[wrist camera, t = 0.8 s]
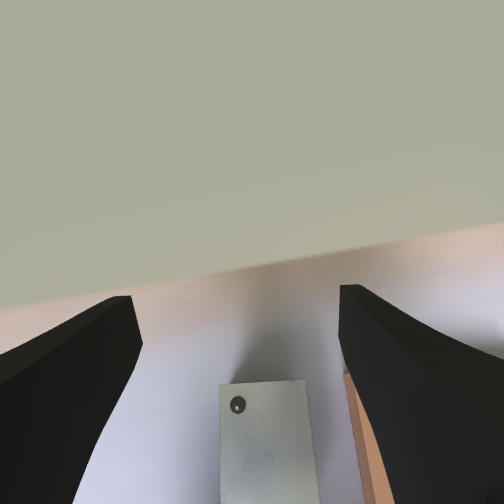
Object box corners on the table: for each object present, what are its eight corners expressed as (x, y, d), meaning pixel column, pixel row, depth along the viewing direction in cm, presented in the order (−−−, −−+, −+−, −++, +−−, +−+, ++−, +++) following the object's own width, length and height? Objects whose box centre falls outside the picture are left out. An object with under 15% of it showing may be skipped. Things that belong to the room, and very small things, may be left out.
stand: (590, 569, 17) (628, 588, 16) (380, 587, 17) (395, 608, 15) (508, 363, 22) (530, 360, 20) (343, 374, 22) (351, 371, 20)
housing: (304, 511, 19) (328, 558, 13) (229, 517, 18) (220, 567, 13) (291, 385, 22) (305, 379, 16) (227, 389, 22) (218, 384, 16)
